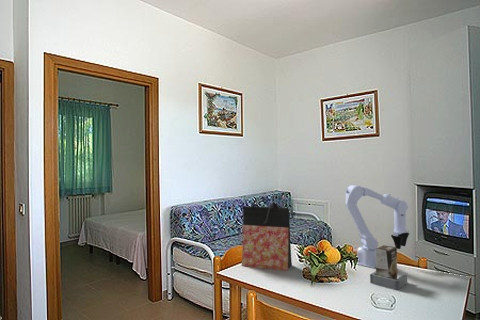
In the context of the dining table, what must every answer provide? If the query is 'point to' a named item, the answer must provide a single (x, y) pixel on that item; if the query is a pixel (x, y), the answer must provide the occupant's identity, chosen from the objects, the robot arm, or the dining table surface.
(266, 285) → the dining table surface
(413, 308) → the dining table surface
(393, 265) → the coffee box
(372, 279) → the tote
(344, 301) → the dining table surface
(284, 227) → the gift bag
